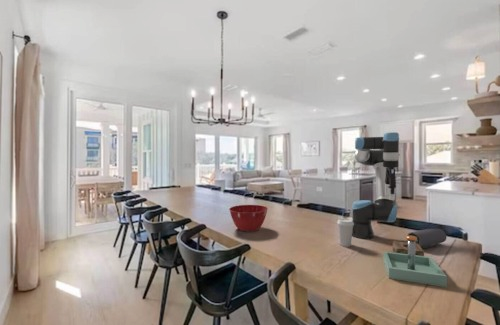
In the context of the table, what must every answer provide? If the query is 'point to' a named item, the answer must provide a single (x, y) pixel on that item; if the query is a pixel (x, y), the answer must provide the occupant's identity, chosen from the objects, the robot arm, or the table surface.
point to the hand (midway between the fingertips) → (389, 197)
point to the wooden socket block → (406, 248)
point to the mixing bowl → (248, 216)
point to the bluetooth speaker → (429, 237)
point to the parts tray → (423, 271)
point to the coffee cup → (345, 231)
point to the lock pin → (411, 252)
